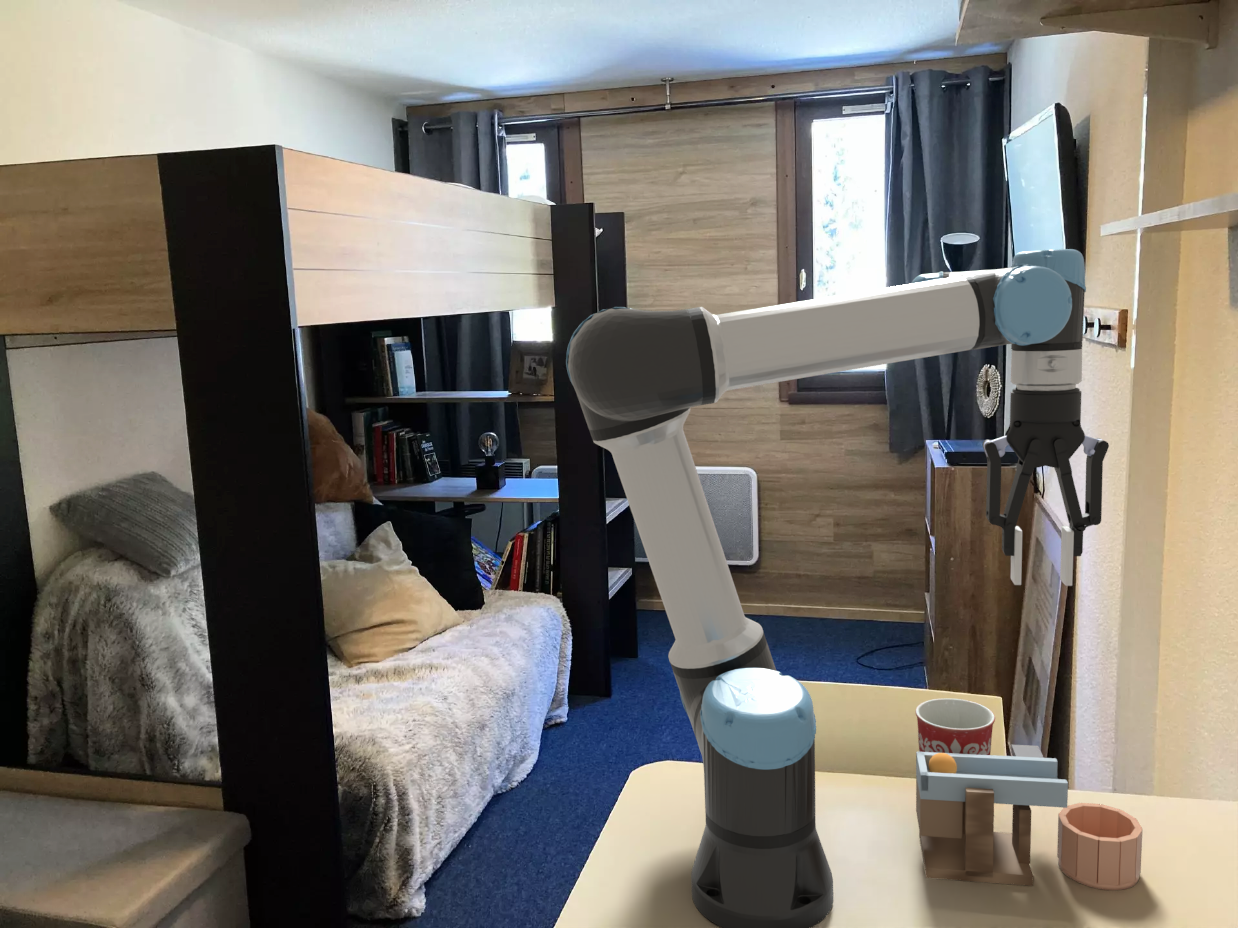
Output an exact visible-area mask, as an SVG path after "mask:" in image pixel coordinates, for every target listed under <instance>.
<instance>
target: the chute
mask: <svg viewBox="0 0 1238 928" xmlns="http://www.w3.org/2000/svg"><path fill="white" fill-rule="evenodd" d="M1010 746H1011V748H1010V749H1011V751H1010V753H1011V755H996V754H995V755H991V754H990V755H976V754H956V753H946V754H948V755H950V756H951V757H952V758H953V759H954V760H955V762H956V765H957V771H956V774H953V773H934V772H930V770H929V761H930V759H931V757H932V756H933V755H935V754H937V753H936V752H919V751H916V752H915V757H916V758H915V764H916V765H915V781H916V783H915V795H916V796H915V807H916V808H915V811H916V813H915V814H916V818H917V824H918V829H919V831H920V836H932V837H947V838H962V810H963V802H965V788H982V789H993V791H994V804H995V805H996V804H999V805H1012V806H1013V805H1029V806H1030V807H1031V806H1032V807H1033V806H1035V807H1051V808H1062V809H1063V808H1067V806H1068V800H1069V799H1068V797H1069V796H1068V795H1069V791H1068V790H1069V781H1067V779H1061V778H1058V764H1059V763H1058V759H1057V758H1056V757H1054V758H1052V757H1044V755H1043V753H1042V751H1041V748H1040V747H1039V745H1028V744H1027V745H1026V744H1011V745H1010Z"/></svg>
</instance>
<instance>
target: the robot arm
mask: <svg viewBox="0 0 1238 928" xmlns="http://www.w3.org/2000/svg"><path fill="white" fill-rule="evenodd" d="M1085 270H1086V269H1085V259H1084V256H1083V254H1082V253H1081V251H1080V250H1077V249H1073V248H1069V249H1068V248H1061V249H1044V250H1041V249H1040V250H1028V251H1019V252H1017V253H1016V254H1015V255H1014V256H1013V260H1012V265H1011V266H1010V267H1004V268H997V269H996V268H993V269H992V268H991V269H981V270H967V271H966V270H965V271H939V272H933V273H922V274H919V275H917V276H915V278H914V279H912V281H911V283H908V284H902V285H901V284H900V285H896V286H895V285H893V286H890V287H889V286H887V287H882V288H875V289H869V290H864V291H857V292H852V293H847V294H846V293H845V294H840V295H833V296H826V297H820V298H814V299H807V300H800V301H795V302H788V303H782V304H776V305H769V306H764V307H757V308H750V309H744V310H738V311H732V312H726V313H721V314H720V313H719V314H714V313H712V312H710V311H709V310H707V309H706V308H704V307H703V306H697V307H692V308H685V309H677V310H642V309H637V308H631V307H625V306H614V307H612V308H606V309H601V310H600V311H598V312H595V313H593V314H590V315H589V316H588V317H586V319H584V320H582V322H581V323H580V324H579V325H578V327H577V328H575V330H574V331H573V333H572V335H571V337H570V340H569V343H568V345H567V350H566V357H565V358H566V359H565V365H566V366H565V367H566V370H567V375H568V378H569V381H570V382H571V385H572V386H573V388H574V391H575V393H576V397H577V399H578V401H579V402H578V403H579V404H580V408H581V410H582V413H583V416H584V419H585V422H586V424H587V428H588V430H589V433H590V436H591V439H592V441H593V444H595V445H597V446H600V447H601V448H604V449H606V450H607V451H609V452H610V453H611V455H612V458H613V462H614V464H615V469H616V470H617V473H618V477H619V479H620V482H621V485H622V488H623V490H624V493H625V497H626V499H627V503H628V506H629V509H630V512H631V514H632V517H633V519H634V522H635V525H636V528H637V532H638V535H639V537H640V539H641V543H642V546H643V548H644V552H645V555H646V558H647V560H648V562H649V563H648V564H649V566H650V569H651V572H652V576H653V578H654V581H655V584H656V587H657V590H658V592H659V595H660V598H661V601H662V604H663V607H664V609H665V613H666V615H667V619H668V621H669V625H670V627H671V630H672V633H673V636H674V639H675V640H674V642H673V643H672V646H671V647H670V649H669V651H668V657H667V658H668V660H669V664H670V666H671V670H672V672H673V675H674V678H675V681H676V684H677V687H678V689H679V695H680V700H681V703H682V705H683V709H684V711H685V713H686V715H687V717H688V719H689V721H690V724H691V727H692V730H693V733H694V737H695V739H696V741H697V745H698V748H699V751H700V754H701V758H702V763H703V764H702V765H703V780H704V784H703V785H704V809H705V812H704V813H705V827H704V829H703V833H702V836H701V840H700V843H699V845H698V849H697V852H696V855H695V859H694V863H693V865H692V869H691V876H690V878H691V880H690V882H691V898H692V901H693V904H694V905H695V907H696V909H697V910H698V911H699V912H700V914H701V915H703V917H704V918H706V919H707V920H708V921H709V922H711V923H713V924H715V925H717V926H718V927H720V928H812V927H815V926H816V925H818V924H819V923H820V922H822V921H823V920H824V919H825V918H826V917H827V916H828V914H829V913H830V912H831V910H832V908H833V905H834V904H833V903H834V878H833V877H834V876H833V873H832V870H831V867H830V865H829V862H828V859H827V856H826V854H825V853H826V852H825V851H824V847H823V845H822V842H821V840H820V836H819V834H818V830H817V825H816V750H815V749H816V740H815V739H816V735H817V719H816V715H815V712H814V705H813V699H812V697H811V694H810V693H809V690H807V689H808V688H807V687H805V686H804V684H803V683H801V682H800V681H799V680H798V679H796V678H794V677H792V676H791V675H789V674H788V675H783V673H782V671H781V672H780V671H779V670H777V669H776V666H775V663H774V659H773V657H772V654H771V650H770V647H769V644H768V642H767V639H766V636H765V633H764V630H763V627H762V625H761V624H760V623H759V622H756V621H754V620H752V619H750V618H749V617H746V616H745V613H744V609H743V608H742V604H741V601H740V597H739V595H738V592H737V588H736V586H735V583H734V580H733V577H732V574H731V570H730V568H729V565H728V561H727V559H726V556H725V552H724V549H723V546H722V543H721V540H720V537H719V535H718V531H717V528H716V526H715V523H714V519H713V516H712V513H711V510H710V506H709V504H708V501H707V498H706V495H705V492H704V489H703V486H702V483H701V482H702V481H701V480H700V476H699V474H698V470H697V467H696V464H695V462H694V458H693V455H692V452H691V449H690V446H689V443H688V440H687V437H686V434H685V431H684V425H685V422H686V421H687V419H688V416H689V415H690V413H691V408H694V407H699V406H704V405H705V406H706V405H711V404H715V403H718V401H719V400H720V398H721V397H722V396H723V395H724V393H726V392H727V391H733V390H738V389H745V388H751V387H757V386H764V385H768V384H773V383H781V382H785V381H791V380H793V381H794V380H798V379H803V378H810V377H817V376H821V375H823V376H824V375H827V374H834V373H840V372H846V371H851V370H858V369H863V368H869V367H875V366H880V365H886V364H887V365H888V364H892V363H893V364H894V363H898V362H906V361H912V360H917V359H924V358H928V357H929V358H930V357H935V356H941V355H947V354H952V353H959V352H965V351H971V350H981V349H987V348H991V347H992V348H993V347H998V346H1004V345H1010V346H1011V348H1010V349H1011V357H1010V358H1011V359H1010V360H1011V361H1010V365H1011V367H1010V383H1012V385H1014V386H1015V388H1013V389H1012V391H1010V398H1009V399H1010V403H1009V404H1010V407H1009V409H1010V411H1009V419H1010V420H1009V425H1008V428H1007V430H1006V431H1005V434H1004V435H1003V436H1000V437H998V438H995V439H985V440H983V441H982V448H983V451H984V454H985V456H986V460H987V461H986V463H987V464H986V467H987V468H986V499H985V501H986V504H985V505H986V507H985V517H986V519H987V521H988V522H989V524H990V525H993V526H998V527H1000V528H1001V550H1002V552H1003V554H1004V555H1005V556H1006V557H1007V556H1008V557H1010V580H1011V581H1012V583H1013V585H1014V586H1021V585H1022V574H1023V573H1022V569H1023V567H1022V563H1023V561H1022V560H1023V530H1022V528H1021V527H1020V526H1019V525H1017V523H1018V520H1019V517H1020V514H1021V509H1022V506H1023V503H1024V501H1025V498H1026V497H1025V496H1026V493H1027V490H1028V487H1029V482H1030V480H1031V477H1032V475H1033V473H1034V471H1035V469H1036V468H1037V469H1038V468H1042V467H1045V466H1046V467H1050V468H1054V471H1055V473H1056V477H1057V480H1058V481H1057V482H1058V486H1059V489H1060V492H1061V497H1062V501H1063V505H1064V510H1065V514H1066V516H1067V517H1066V518H1067V521H1068V524H1069V525H1068V526H1066V525H1063V526H1061V541H1060V570H1059V571H1060V575H1059V578H1060V579H1059V580H1060V581H1061V582H1062V583H1063V584H1064V586H1066V587H1072V586H1073V576H1074V575H1073V572H1074V571H1073V570H1074V557H1081V556H1082V554H1083V550H1084V549H1083V546H1084V531H1085V530H1086V528H1089V527H1091V526H1098V525H1099V524H1101V523H1102V512H1103V511H1102V509H1103V508H1102V505H1103V471H1104V470H1103V468H1104V467H1103V464H1104V462H1103V461H1104V460H1105V456H1106V454H1107V453H1108V450H1109V447H1110V445H1109V443H1108V441H1106V440H1104V439H1102V438H1100V437H1096V438H1094V437H1093V436H1092V437H1091V436H1088V435H1086V434H1085V432H1084V430H1083V428H1082V425H1081V422H1082V421H1081V417H1082V391H1081V390H1080V388H1079V387H1077V385H1079V384H1080V383H1081V382H1082V381H1083V379H1082V378H1083V377H1082V376H1083V340H1084V317H1085V315H1084V314H1085V293H1086V292H1087V287H1086V271H1085ZM1081 445H1082V446H1083V453H1084V454H1085V455H1086V461H1085V495H1084V496H1085V498H1084V499H1085V501H1084V503H1085V504H1084V509H1085V510H1084V513H1082V510H1081V509H1082V508H1081V506H1080V501H1079V497H1078V493H1077V489H1076V485H1075V481H1074V477H1073V470H1072V467H1071V462H1070V459H1071V458H1072V456H1073V455H1074V454H1075V453H1076V451H1078V449H1079V448H1080V447H1081ZM1008 446H1009V447H1010V448H1011V449H1012V451H1013V453H1014V454H1015V455H1016V456H1017V458H1018V461H1017V464H1016V469H1015V474H1014V477H1013V481H1012V484H1011V487H1010V490H1009V494H1008V497H1007V501H1006V504H1005V508H1004V511H1003V514H1001V498H1002V497H1001V494H1002V493H1001V489H1002V487H1001V486H1002V459H1001V458H1002V457H1003V456H1005V454H1006V447H1008Z"/></svg>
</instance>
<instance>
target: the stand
mask: <svg viewBox="0 0 1238 928" xmlns="http://www.w3.org/2000/svg"><path fill="white" fill-rule="evenodd" d="M994 818H995V803H994V791H993V789H982V788H965V802H963V810H962V838H947V837H932V836H920V831H919V832H918V833H919V835H918V836H919V842H920V843H919V844H920V848H921V849H920V850H921V855H922V860H923V867H924V873H925V878H926V879H936V880H938V879H939V880H951V881H963V882H975V883H976V882H977V883H989V884H991V883H992V884H1002V885H1003V884H1005V885H1014V886H1015V885H1017V886H1028V887H1029V886H1030V887H1034V873H1033V871H1032V868H1031V865H1030V864H1031V846H1032V845H1031V842H1032V841H1031V839H1032V808H1031V806H1030V805H1013V804H1012V823H1011V824H1012V827H1011V832H1001V831H1000V832H999V831H994V829H995V828H994V827H995V826H994V825H995V823H994V822H995V819H994Z"/></svg>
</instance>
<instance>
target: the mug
mask: <svg viewBox="0 0 1238 928" xmlns="http://www.w3.org/2000/svg"><path fill="white" fill-rule="evenodd" d="M915 716H916V721H917V738H918V742H917V743H918V752H936V753H956V754H976V755H991V751H992V750H991V749H992V738H993V737H992V736H993V728H994V724H995V722H996V716H995V713H994V712H993V711H992V710H991V709H989V708H988V707H987V706H985V705H983V704H980V703H978V702H975V701H970V700H967V699H962V698H961V699H960V698H933V699H929V700H926V701H922V702H921V703H919V704H918V705H917V706H916V708H915Z"/></svg>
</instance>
